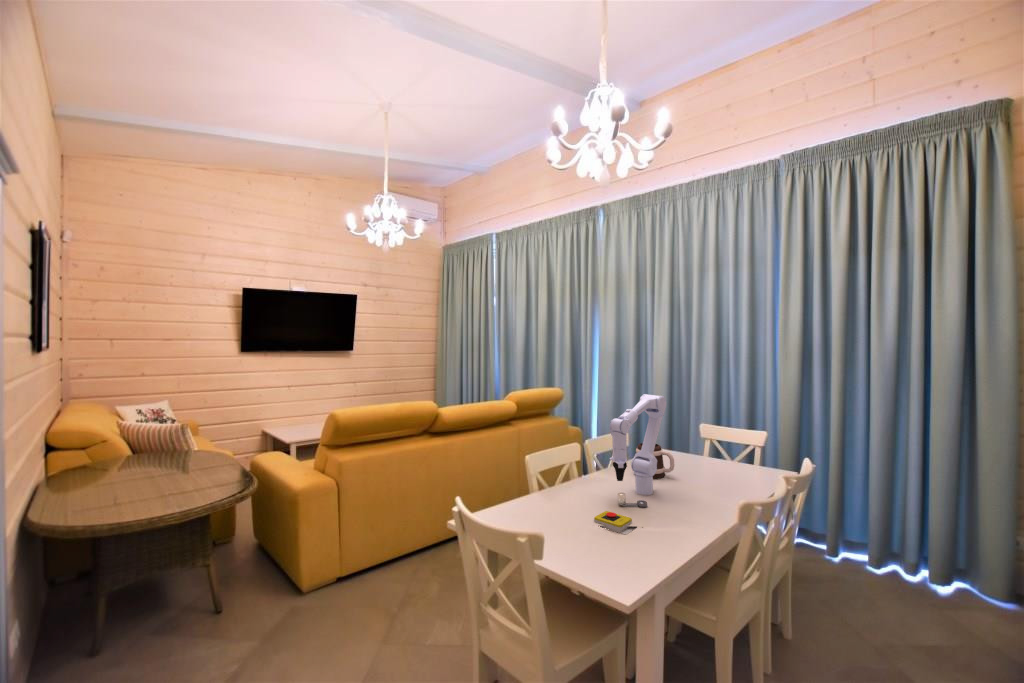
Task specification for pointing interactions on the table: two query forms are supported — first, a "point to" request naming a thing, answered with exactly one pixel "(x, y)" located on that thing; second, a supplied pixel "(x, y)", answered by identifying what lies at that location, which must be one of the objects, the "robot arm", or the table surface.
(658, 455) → the mug
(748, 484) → the table surface
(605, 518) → the emergency button
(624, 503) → the crank
